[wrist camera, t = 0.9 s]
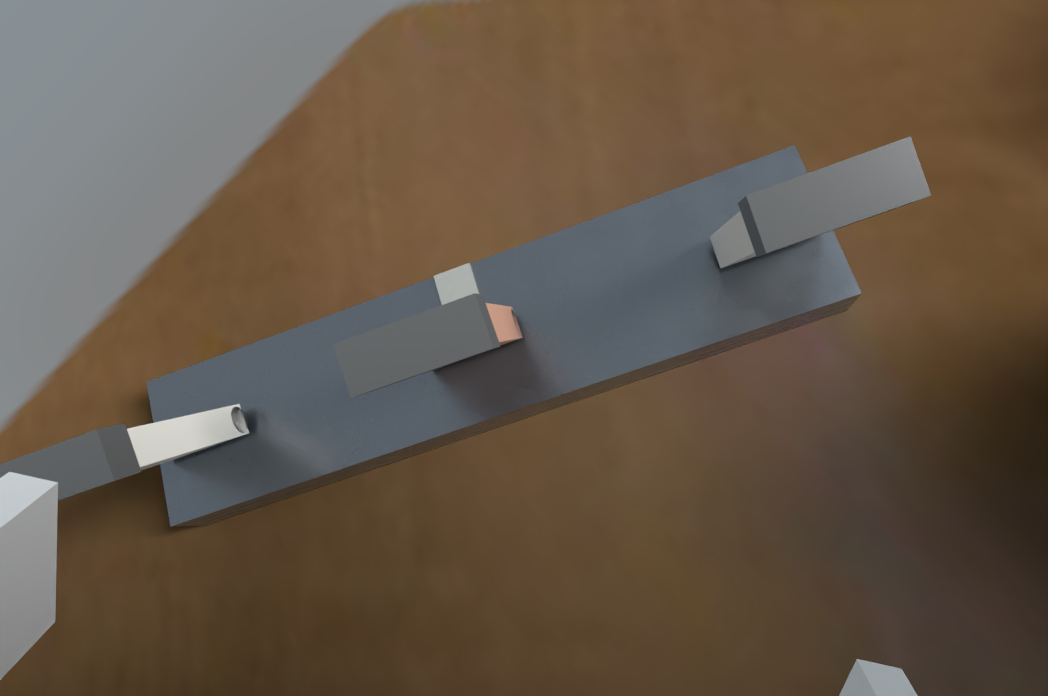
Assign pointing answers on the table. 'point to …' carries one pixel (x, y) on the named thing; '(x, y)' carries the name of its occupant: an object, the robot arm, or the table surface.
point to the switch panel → (514, 368)
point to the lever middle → (424, 343)
